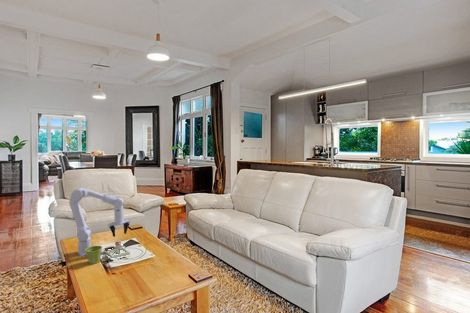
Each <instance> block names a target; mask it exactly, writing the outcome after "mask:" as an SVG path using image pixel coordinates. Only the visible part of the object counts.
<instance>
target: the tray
mask: <svg viewBox="0 0 470 313" xmlns="http://www.w3.org/2000/svg"><path fill="white" fill-rule="evenodd" d="M120 250H123V251H125V253H121V254H118V255H114V256H113V255H112V254H110V253H113V252H115V249H114V250H110V251H106V254H107V255H108V256H110V257H111V258H117V257H121V256H126V255H130V254H131V252H130V250H128V249H127V248H126V249H125V248H124V247H121V248H120ZM130 256H131V255H130Z"/></svg>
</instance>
